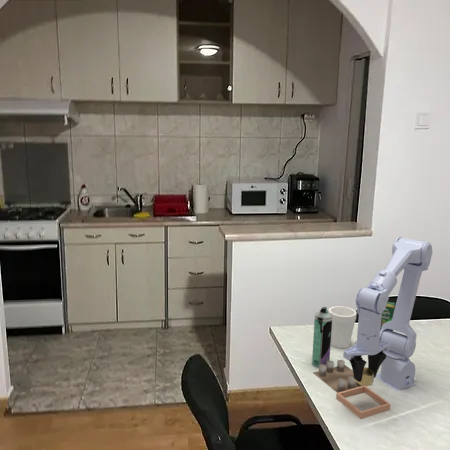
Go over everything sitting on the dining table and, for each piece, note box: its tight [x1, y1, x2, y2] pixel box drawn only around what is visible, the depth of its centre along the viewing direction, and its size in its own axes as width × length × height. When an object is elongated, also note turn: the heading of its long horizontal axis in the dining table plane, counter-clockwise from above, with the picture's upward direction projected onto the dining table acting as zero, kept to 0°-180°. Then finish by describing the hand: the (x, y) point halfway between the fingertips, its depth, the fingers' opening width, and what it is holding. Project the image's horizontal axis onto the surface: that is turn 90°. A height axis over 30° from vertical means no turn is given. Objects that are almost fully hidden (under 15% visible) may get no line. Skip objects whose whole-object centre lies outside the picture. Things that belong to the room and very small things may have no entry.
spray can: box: [311, 306, 332, 369], centre depth 147 cm, size 6×6×20 cm
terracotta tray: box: [335, 386, 391, 419], centre depth 127 cm, size 10×10×2 cm
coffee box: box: [380, 301, 396, 331], centre depth 171 cm, size 8×3×13 cm, turn 62°
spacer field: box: [312, 359, 364, 393], centre depth 140 cm, size 13×12×4 cm
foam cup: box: [327, 305, 358, 349], centre depth 162 cm, size 10×9×13 cm
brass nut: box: [355, 366, 375, 387], centre depth 126 cm, size 4×5×3 cm
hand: (364, 378), depth 126 cm, fingers closed on brass nut, 4 cm apart
